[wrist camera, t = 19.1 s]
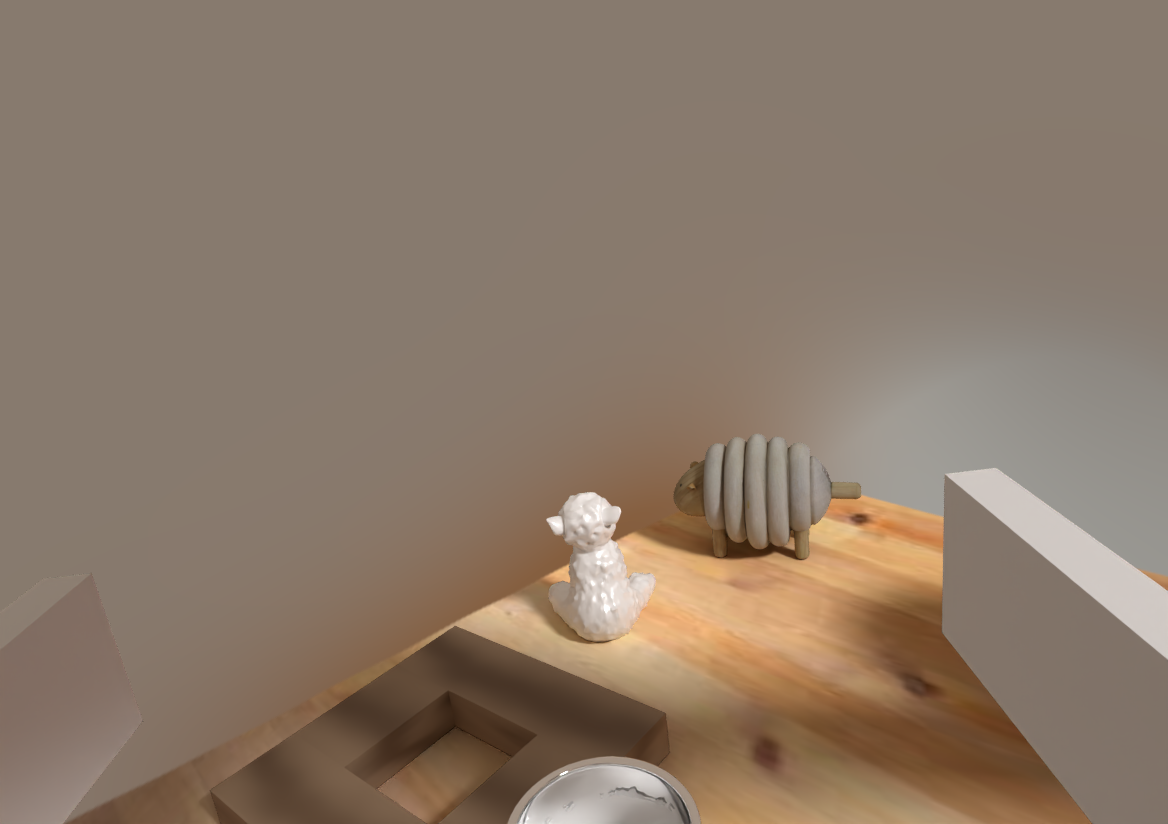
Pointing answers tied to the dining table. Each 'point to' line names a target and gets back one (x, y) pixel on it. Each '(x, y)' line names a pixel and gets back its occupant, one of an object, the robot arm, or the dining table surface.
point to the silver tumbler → (607, 795)
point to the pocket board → (421, 717)
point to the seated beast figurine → (596, 572)
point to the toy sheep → (760, 492)
